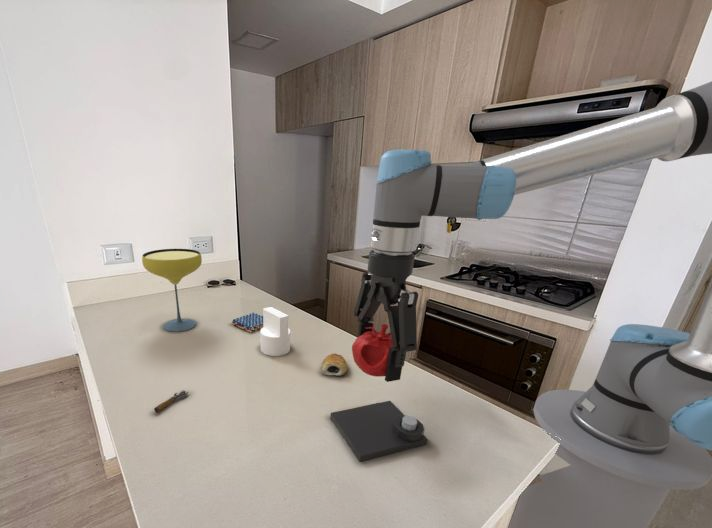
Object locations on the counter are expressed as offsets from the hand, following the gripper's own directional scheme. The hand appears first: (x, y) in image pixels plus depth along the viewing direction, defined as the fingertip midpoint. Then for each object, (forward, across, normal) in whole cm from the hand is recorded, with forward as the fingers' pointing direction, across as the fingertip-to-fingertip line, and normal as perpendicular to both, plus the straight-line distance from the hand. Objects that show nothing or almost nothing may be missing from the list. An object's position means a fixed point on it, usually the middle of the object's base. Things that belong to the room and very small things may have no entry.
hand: (376, 365), depth 66 cm
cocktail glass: (+15, -65, -36) cm, 76 cm away
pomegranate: (+1, 0, 0) cm, 1 cm away
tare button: (+12, +5, +6) cm, 15 cm away
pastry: (+15, -24, +3) cm, 28 cm away
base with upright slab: (+15, -40, -9) cm, 43 cm away
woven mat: (+15, -60, -12) cm, 63 cm away
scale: (+15, +1, +1) cm, 15 cm away
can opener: (+15, -20, -39) cm, 47 cm away
